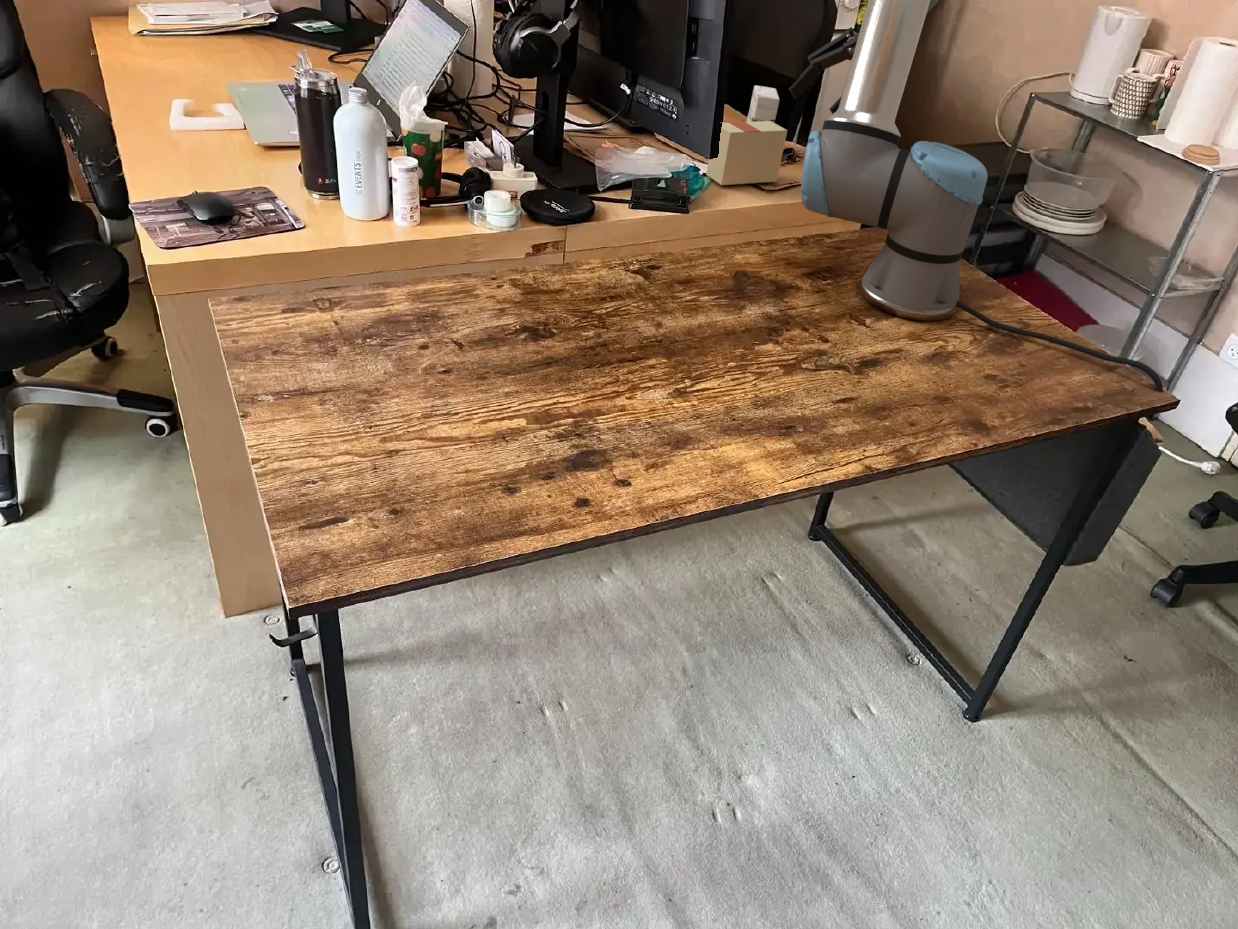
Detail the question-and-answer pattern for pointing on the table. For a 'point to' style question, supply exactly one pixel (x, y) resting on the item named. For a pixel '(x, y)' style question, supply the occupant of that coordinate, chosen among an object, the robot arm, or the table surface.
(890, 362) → the table surface
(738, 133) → the carton
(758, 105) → the ink box
